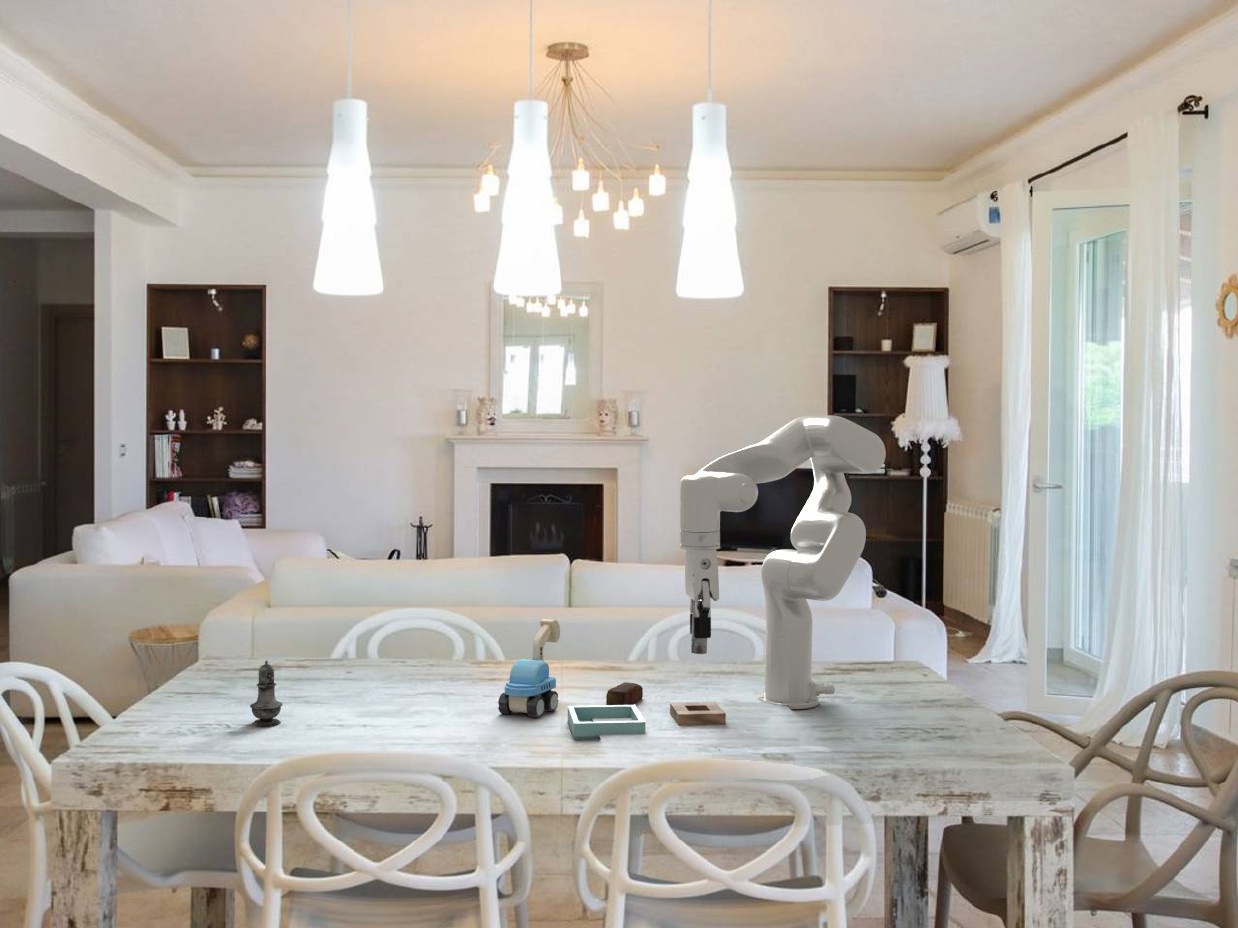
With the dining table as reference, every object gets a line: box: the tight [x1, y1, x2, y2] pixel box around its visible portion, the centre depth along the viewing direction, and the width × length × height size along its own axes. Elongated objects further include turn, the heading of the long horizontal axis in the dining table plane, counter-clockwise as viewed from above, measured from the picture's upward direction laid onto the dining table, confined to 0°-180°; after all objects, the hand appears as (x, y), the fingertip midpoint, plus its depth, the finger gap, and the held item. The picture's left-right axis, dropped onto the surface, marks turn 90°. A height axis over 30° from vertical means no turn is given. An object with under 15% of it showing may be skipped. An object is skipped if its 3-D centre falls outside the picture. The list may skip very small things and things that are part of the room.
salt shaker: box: [249, 659, 283, 728], centre depth 217 cm, size 6×6×12 cm
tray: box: [567, 704, 646, 741], centre depth 216 cm, size 13×13×3 cm
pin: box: [690, 599, 708, 655], centre depth 221 cm, size 3×3×10 cm
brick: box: [605, 681, 644, 705], centre depth 233 cm, size 11×4×5 cm, turn 158°
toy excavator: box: [497, 618, 561, 718], centre depth 231 cm, size 9×17×17 cm, turn 155°
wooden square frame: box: [669, 701, 727, 726], centre depth 221 cm, size 9×9×3 cm
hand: (700, 635), depth 221 cm, fingers closed on pin, 3 cm apart
